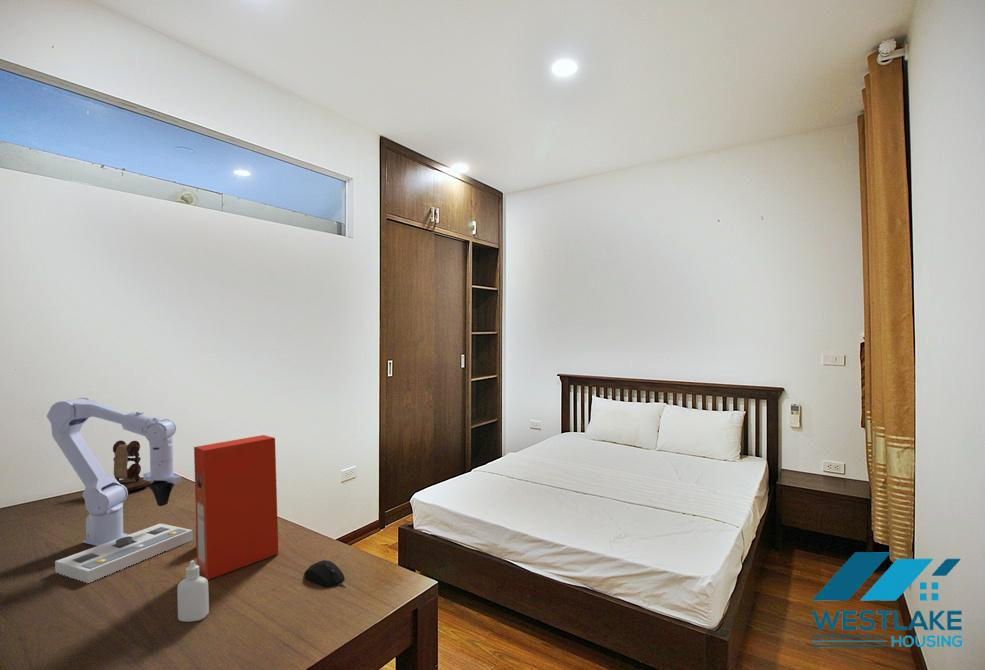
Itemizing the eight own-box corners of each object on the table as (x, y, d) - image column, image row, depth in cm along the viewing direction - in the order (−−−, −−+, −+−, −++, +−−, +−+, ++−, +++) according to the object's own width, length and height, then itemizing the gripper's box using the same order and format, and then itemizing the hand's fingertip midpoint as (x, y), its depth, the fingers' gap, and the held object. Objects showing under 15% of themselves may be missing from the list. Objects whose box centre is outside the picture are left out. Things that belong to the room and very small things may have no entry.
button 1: (73, 567, 121) (73, 559, 121) (90, 561, 125) (89, 553, 125) (81, 569, 120) (81, 561, 120) (97, 563, 123) (97, 555, 123)
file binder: (197, 570, 120) (194, 446, 120) (265, 546, 133) (262, 434, 133) (208, 580, 115) (205, 450, 115) (278, 554, 128) (275, 438, 128)
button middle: (113, 548, 130) (112, 540, 130) (127, 542, 133) (127, 535, 133) (120, 550, 128) (120, 542, 128) (135, 544, 132) (135, 537, 132)
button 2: (147, 539, 138) (147, 532, 138) (160, 534, 141) (160, 527, 141) (155, 540, 136) (155, 534, 136) (168, 535, 140) (168, 529, 140)
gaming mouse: (335, 596, 107) (335, 578, 107) (298, 577, 116) (298, 561, 116) (358, 583, 112) (357, 567, 112) (321, 567, 121) (320, 551, 121)
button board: (55, 572, 121) (55, 560, 121) (160, 533, 145) (160, 522, 145) (88, 583, 115) (88, 570, 115) (192, 540, 139) (192, 529, 139)
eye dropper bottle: (196, 608, 103) (195, 554, 103) (211, 615, 100) (210, 559, 100) (175, 619, 99) (173, 562, 99) (190, 626, 96) (189, 568, 96)
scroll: (94, 495, 183) (92, 444, 183) (129, 483, 198) (128, 436, 198) (126, 496, 181) (125, 445, 181) (159, 484, 195) (158, 436, 195)
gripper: (132, 462, 142) (133, 506, 142) (164, 465, 136) (165, 512, 136) (156, 456, 148) (157, 499, 148) (187, 459, 143) (188, 504, 143)
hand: (162, 504), depth 143 cm, fingers closed
